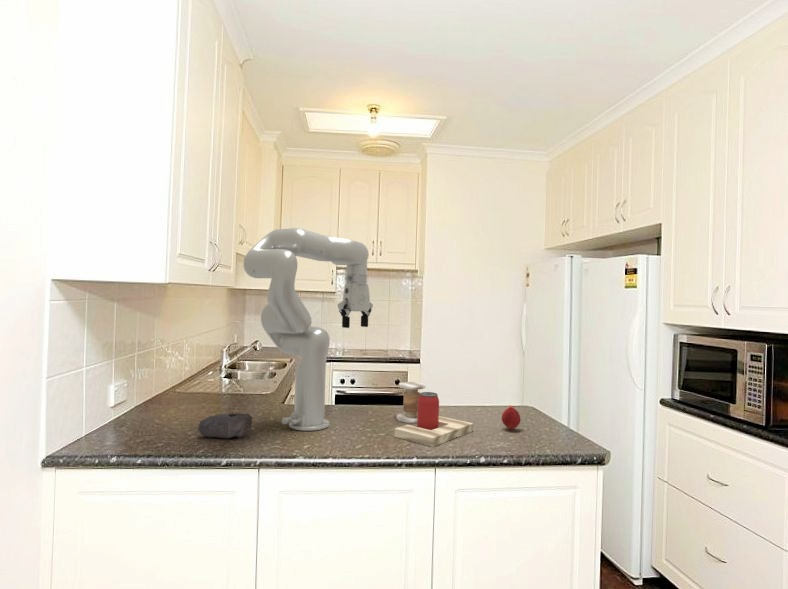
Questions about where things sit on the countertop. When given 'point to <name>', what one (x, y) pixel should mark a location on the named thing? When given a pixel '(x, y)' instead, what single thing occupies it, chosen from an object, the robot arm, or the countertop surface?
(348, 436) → the countertop surface
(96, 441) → the countertop surface
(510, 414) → the onion
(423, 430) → the notched board
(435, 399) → the beer can
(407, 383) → the bobbin
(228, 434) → the perforated stone tool
